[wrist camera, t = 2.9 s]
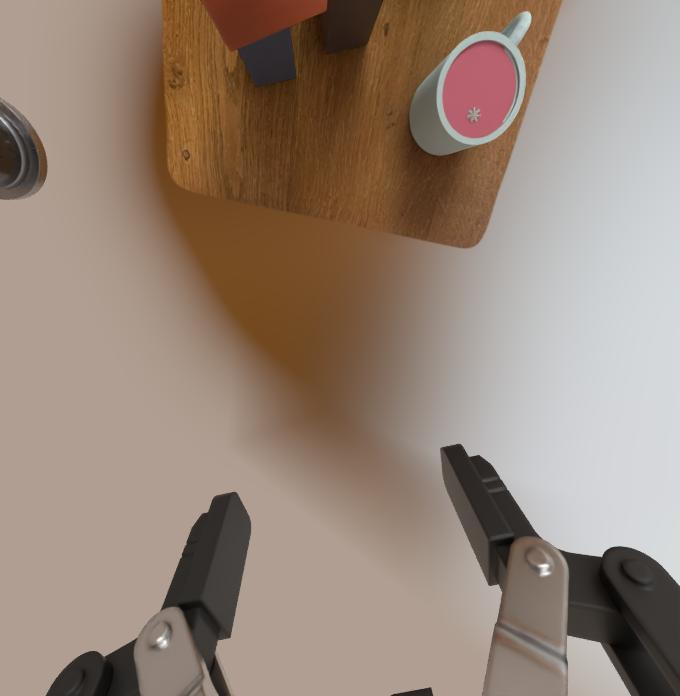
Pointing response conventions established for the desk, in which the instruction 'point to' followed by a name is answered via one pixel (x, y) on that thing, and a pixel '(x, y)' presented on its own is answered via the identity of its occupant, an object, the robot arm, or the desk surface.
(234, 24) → the bar
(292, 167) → the desk surface
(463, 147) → the mug
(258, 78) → the dark blue long block
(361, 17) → the plinth
